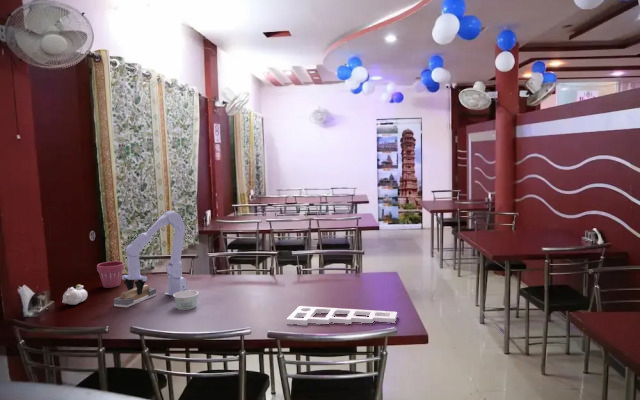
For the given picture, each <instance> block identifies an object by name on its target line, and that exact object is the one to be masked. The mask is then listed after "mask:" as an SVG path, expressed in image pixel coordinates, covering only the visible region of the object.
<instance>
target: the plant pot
mask: <svg viewBox="0 0 640 400" xmlns="http://www.w3.org/2000/svg"><path fill="white" fill-rule="evenodd" d="M96 270H97V271H96V272H98V274H99V277H100V281H101V284H102V287H103V288H109V289H110V288H115V287H119V286H121V281H122V276H123V271H124V270H125V264H124V262H123V261H117V260H115V261H114V260H113V261H107V262H106V261H105V262H101V263H98V264H97V266H96Z"/></svg>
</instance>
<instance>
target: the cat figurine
mask: <svg viewBox="0 0 640 400" xmlns="http://www.w3.org/2000/svg"><path fill="white" fill-rule="evenodd" d="M84 288H85V287H84V285H82V284H76V285H75V288H74V286H71V287H68V288H67V289H66V290H65V291H64V293H63V295H62V302H61V303H63V304H67V305H69V306H70V305H71V306H72V305H73V306H76V305H78V304H79V303H82V302H84V301H86V300H87V298H88V291H87V290H86V289H84Z"/></svg>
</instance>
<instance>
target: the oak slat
mask: <svg viewBox="0 0 640 400" xmlns="http://www.w3.org/2000/svg"><path fill="white" fill-rule="evenodd" d="M149 288H150V286H149V284H144V286H143V289H142V294H140V295H138V294H137V287H134V289H131V290H128V289H127V290H126V291H123V292H121V293H120V294H121V295H120V296H121V297H122V299H128V298H133V301H134V300H136V299H139V298H141V297H144V296H146V295H148V291H149Z"/></svg>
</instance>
